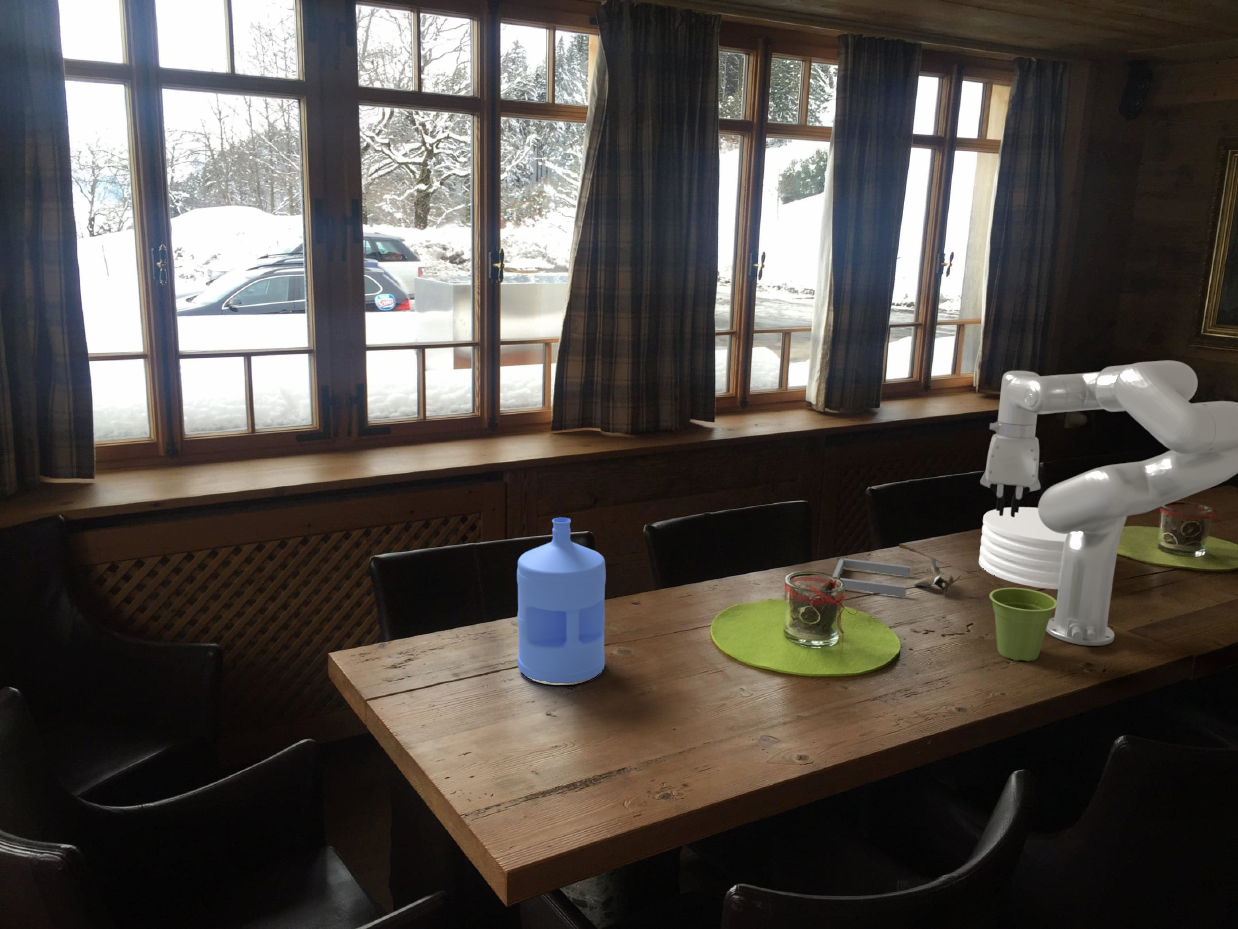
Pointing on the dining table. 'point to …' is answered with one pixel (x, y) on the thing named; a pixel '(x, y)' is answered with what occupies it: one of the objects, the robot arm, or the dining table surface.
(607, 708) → the dining table surface
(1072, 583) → the robot arm
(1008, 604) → the plant pot
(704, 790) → the dining table surface
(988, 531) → the plate stack
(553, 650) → the water jug
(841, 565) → the gray frame
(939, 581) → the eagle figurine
